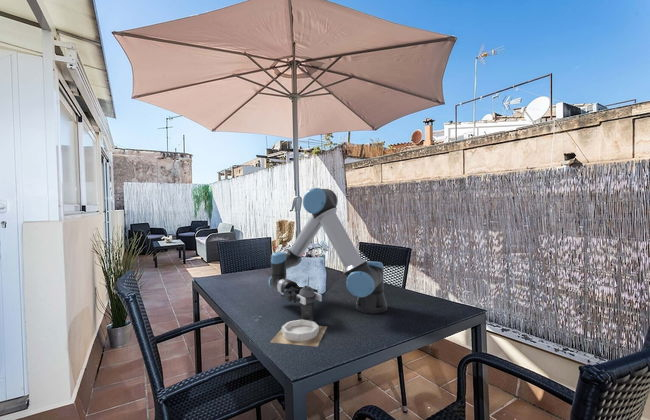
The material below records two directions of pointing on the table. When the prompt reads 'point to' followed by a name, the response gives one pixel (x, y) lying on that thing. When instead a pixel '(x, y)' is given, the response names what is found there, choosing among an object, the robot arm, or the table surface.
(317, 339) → the cork mat
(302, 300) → the robot arm
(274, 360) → the table surface
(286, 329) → the bowl
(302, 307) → the beverage cup
